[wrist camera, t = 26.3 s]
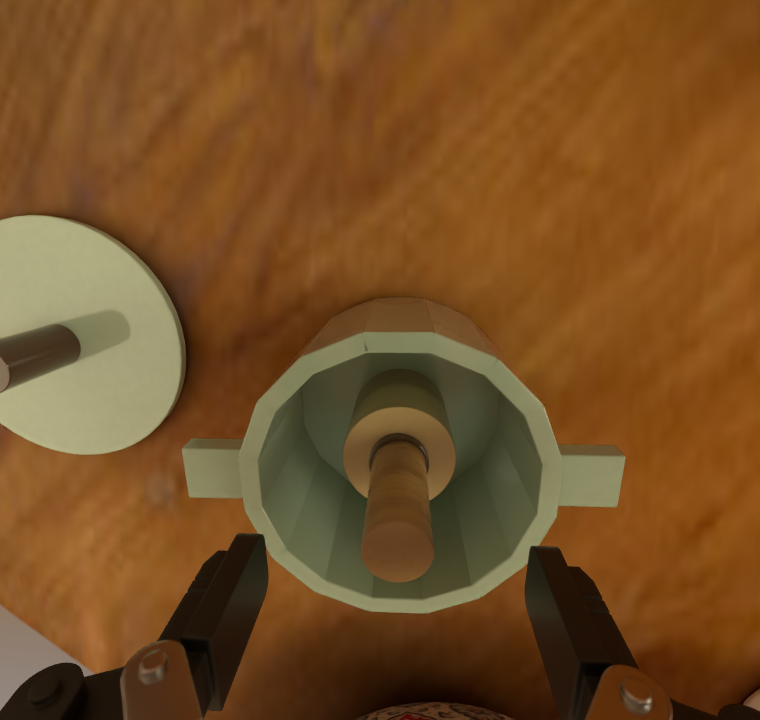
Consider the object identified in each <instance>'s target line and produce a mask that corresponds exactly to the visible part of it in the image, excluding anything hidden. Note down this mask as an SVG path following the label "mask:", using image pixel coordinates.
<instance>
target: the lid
mask: <svg viewBox="0 0 760 720" xmlns="http://www.w3.org/2000/svg"><path fill="white" fill-rule="evenodd" d="M185 373H186V347H185V340H184V335H183V330H182V326H181V323H180V320H179V317H178V314H177V311H176V309H175V307H174V305H173V303H172V301H171V299H170V297H169V295H168V293H167V292H166V290H165V289H164V287H163V286H162V284H161V282H160V281H159V280H158V278H157V277H156V276H155V275H154V273H153V272H152V271H151V270H150V268H149V267H148V266H147V265H146V264H145V263H144V262H143V261H142V260H141V259H140V258H139V257H138V256H137V255H136V254H135V253H133V252H132V251H131V250H130V249H128V248H127V247H126V246H125V245H123V244H122V243H121V242H119V241H118V240H116V239H115V238H113V237H111V236H110V235H108V234H107V233H105V232H103V231H101V230H99V229H96V228H94V227H92V226H90V225H88V224H85V223H82V222H79V221H76V220H73V219H68V218H63V217H58V216H46V215H23V216H14V217H10V218H6V219H2V220H0V423H1V424H2V425H4V426H5V427H6V428H8V429H9V430H11V431H12V432H14V433H16V434H17V435H19V436H21V437H23V438H25V439H26V440H28V441H31V442H33V443H35V444H38V445H40V446H42V447H46V448H49V449H52V450H55V451H60V452H65V453H70V454H81V455H94V454H104V453H110V452H115V451H118V450H121V449H124V448H127V447H129V446H131V445H134V444H136V443H138V442H139V441H141V440H142V439H144V438H145V437H147V436H148V435H150V434H151V433H152V432H153V431H155V430H156V429H157V428H158V427H159V426H160V425H161V424H162V423H163V422H164V421H165V419H166V418H167V417H168V416H169V414H170V413H171V412H172V410H173V408H174V406H175V404H176V403H177V401H178V398H179V396H180V393H181V390H182V387H183V383H184V378H185Z"/></svg>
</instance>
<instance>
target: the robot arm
mask: <svg viewBox="0 0 760 720" xmlns="http://www.w3.org/2000/svg"><path fill="white" fill-rule="evenodd" d="M267 586H268V566H267V556H266V545H265V538H264V535H263V534H246V533H238V534H237V535H236V537H235V539H234V540H233V542H232V544H231V546H230V548H229V549H228V551H217V552H216V553H215V554H214V555H213V556H212V557H210V558H209V559H208V560H207V561H206V562H205V563H204V564H203V566H202V567H201V569H200V571H199V572H198V574H197V576H196V577H195V581H193V582H192V584H191V586H190V587H189V589H188V593H186V594H185V596H184V597H183V599H182V601H181V602H180V604H179V606H178V607H177V609H176V611H175V612H174V614H173V616H172V617H171V619H170V621H169V622H168V624H167V626H166V627H165V629H164V631H163V632H162V634H161V636H160V637H159V639H158V640H157V642H154V643H151V644H149V645H147V646H145V647H144V648H142V649H141V650H139V651H138V652H137V653H136V654H135V655H134V656H133V657H132V658H131V659H130V660H129V661H128V662H127V664H126V665H125V666H124V667H121V668H118V669H115V670H111V671H107V672H103V673H99V674H95V675H91V676H87V677H84V675H83V672H82V670H81V668H80V667H79V666H78V665H76V664H73V663H60V664H55V665H52V666H50V667H47V668H45V669H43V670H42V671H39V672H38V673H36V674H35V675H33V676H32V677H30V678H29V679H28V680H27V681H26V682H24V683H23V684H22V685H21V686H20V687H19V688H18V689H17V690H16V692H15V693H14V694H13V695H12V697H11V698H10V699H9V701H8V702H7V703H6V704H5V706H4V707H3V708H2V709H1V711H0V720H203V719H204V716H205V714H206V712H207V710H212V711H222V709H223V706H224V703H225V701H226V698H227V695H228V693H229V690H230V688H231V685H232V682H233V680H234V677H235V674H236V672H237V669H238V667H239V664H240V661H241V659H242V656H243V653H244V651H245V648H246V646H247V643H248V640H249V638H250V635H251V632H252V630H253V627H254V625H255V622H256V619H257V617H258V614H259V612H260V609H261V606H262V604H263V601H264V598H265V595H266V592H267ZM525 601H526V607H527V611H528V615H529V618H530V621H531V624H532V627H533V631H534V634H535V637H536V640H537V644H538V647H539V650H540V653H541V657H542V660H543V663H544V666H545V670H546V673H547V676H548V679H549V683H550V686H551V689H552V692H553V696H554V699H555V702H556V705H557V708H558V712H559V715H560V718H561V720H760V711H758V710H756V709H754V708H752V707H748V706H745V705H740V704H729V705H726V706H724V707H723V708H722V709H721V710H720V712H719V714H718V717H717V716H714V715H711V714H709V713H706V712H703V711H700V710H697V709H694V708H692V707H689V706H686V705H683V704H681V703H678V702H676V701H674V700H672V699H671V698H669V697H668V695H667V694H666V692H665V691H664V690H663V688H662V687H661V686H660V685H659V684H658V683H657V682H656V681H655V680H654V679H653V678H651V677H650V676H649V675H647V674H646V673H644V672H642V671H640V669H639V668H638V666H637V664H636V662H635V660H634V658H633V656H632V654H631V652H630V651H629V649H628V647H627V645H626V643H625V641H624V639H623V637H622V635H621V633H620V631H619V629H618V627H617V625H616V624H615V622H614V620H613V618H612V616H611V615H610V614H609V610H608V608H607V606H606V604H605V602H604V601H602V597H601V595H600V593H599V591H598V589H597V587H596V585H595V583H594V581H593V580H592V579H591V578H590V577H589V576H588V575H587V574H586V573H585V572H584V571H583V570H582V569H581V568H580V567H572V566H567V564H566V562H565V559H564V557H563V555H562V553H561V551H560V549H559V548H558V547H550V546H531V547H530V550H529V557H528V566H527V574H526V582H525Z"/></svg>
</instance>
